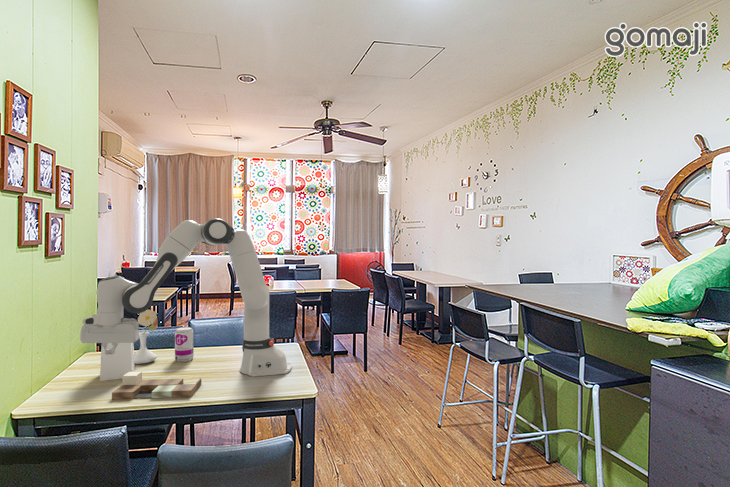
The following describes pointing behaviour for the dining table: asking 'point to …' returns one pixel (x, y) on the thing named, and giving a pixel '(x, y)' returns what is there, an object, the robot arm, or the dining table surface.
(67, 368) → the dining table surface
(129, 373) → the cream block
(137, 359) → the flower in vase
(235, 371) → the dining table surface
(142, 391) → the board
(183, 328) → the supplement can
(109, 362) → the milk
